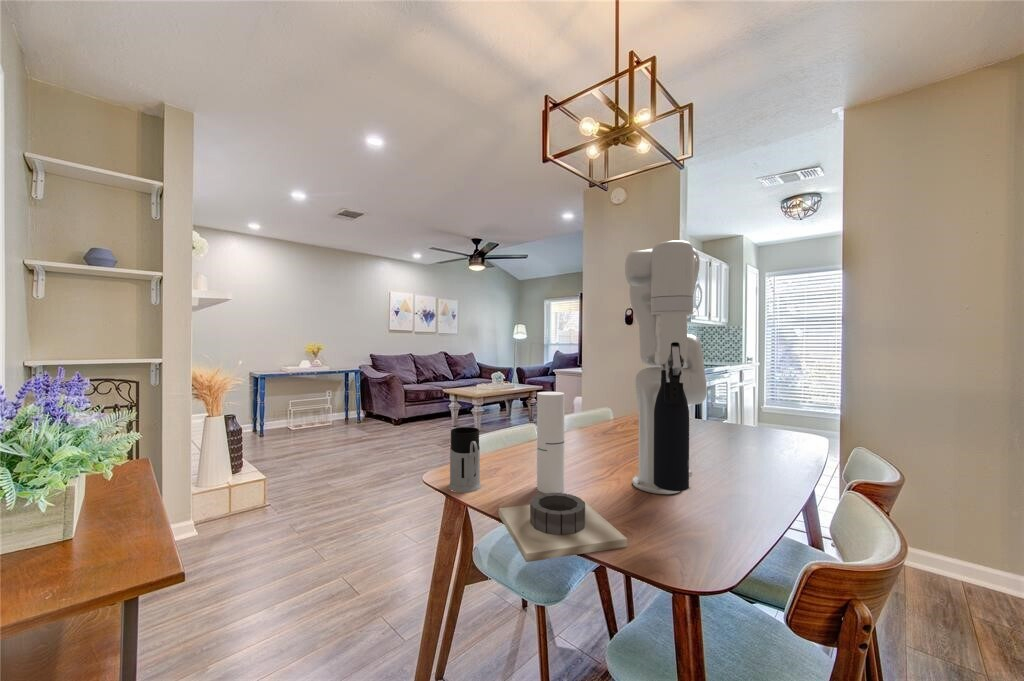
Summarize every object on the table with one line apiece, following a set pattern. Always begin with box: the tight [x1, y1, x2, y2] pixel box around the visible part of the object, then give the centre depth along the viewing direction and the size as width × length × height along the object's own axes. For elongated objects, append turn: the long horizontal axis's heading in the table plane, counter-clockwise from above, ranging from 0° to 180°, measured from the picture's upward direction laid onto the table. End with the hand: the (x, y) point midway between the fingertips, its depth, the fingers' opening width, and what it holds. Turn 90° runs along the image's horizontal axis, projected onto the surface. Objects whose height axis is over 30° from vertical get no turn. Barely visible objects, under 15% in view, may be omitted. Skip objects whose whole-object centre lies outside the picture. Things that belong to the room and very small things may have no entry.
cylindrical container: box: [536, 391, 566, 494], centre depth 107 cm, size 7×7×25 cm
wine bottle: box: [654, 363, 690, 492], centre depth 79 cm, size 6×6×30 cm
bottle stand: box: [498, 492, 628, 563], centre depth 84 cm, size 20×20×6 cm
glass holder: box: [448, 426, 482, 494], centre depth 106 cm, size 9×14×15 cm, turn 23°
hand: (671, 400), depth 79 cm, fingers closed on wine bottle, 5 cm apart
